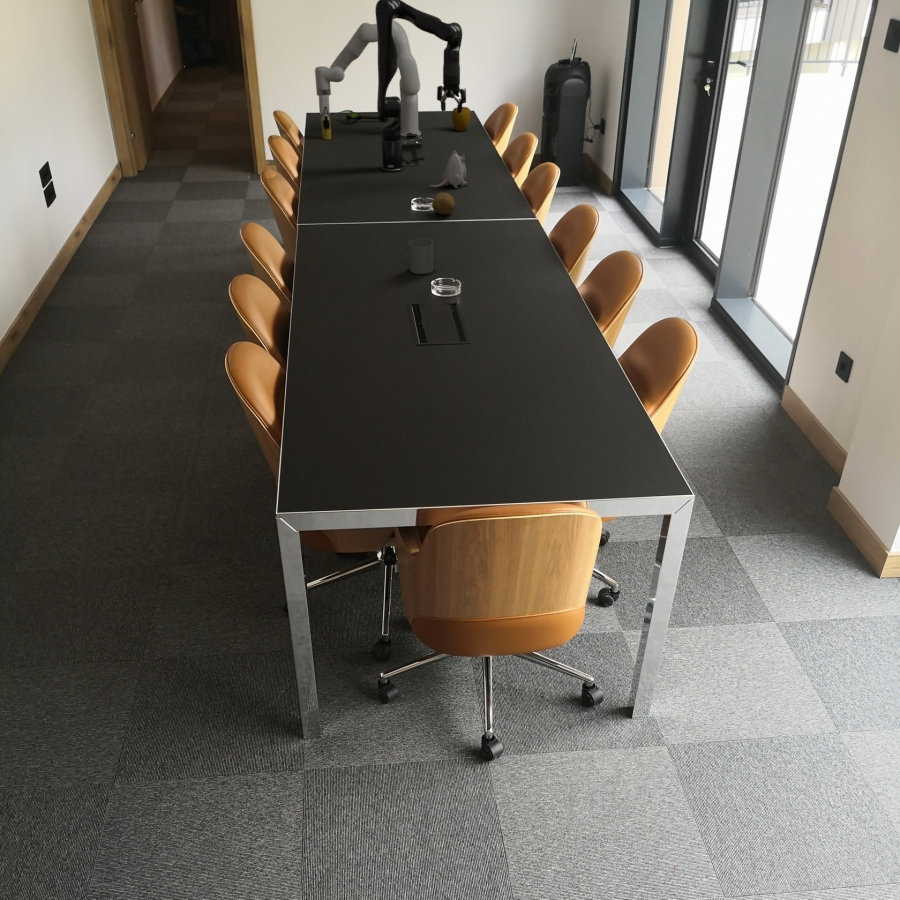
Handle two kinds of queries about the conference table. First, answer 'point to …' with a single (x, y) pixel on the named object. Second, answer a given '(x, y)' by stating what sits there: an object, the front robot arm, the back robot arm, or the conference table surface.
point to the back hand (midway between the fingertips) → (326, 127)
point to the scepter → (358, 117)
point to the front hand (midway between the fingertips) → (451, 112)
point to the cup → (421, 256)
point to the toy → (454, 171)
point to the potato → (443, 203)
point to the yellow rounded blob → (461, 119)
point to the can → (326, 130)
